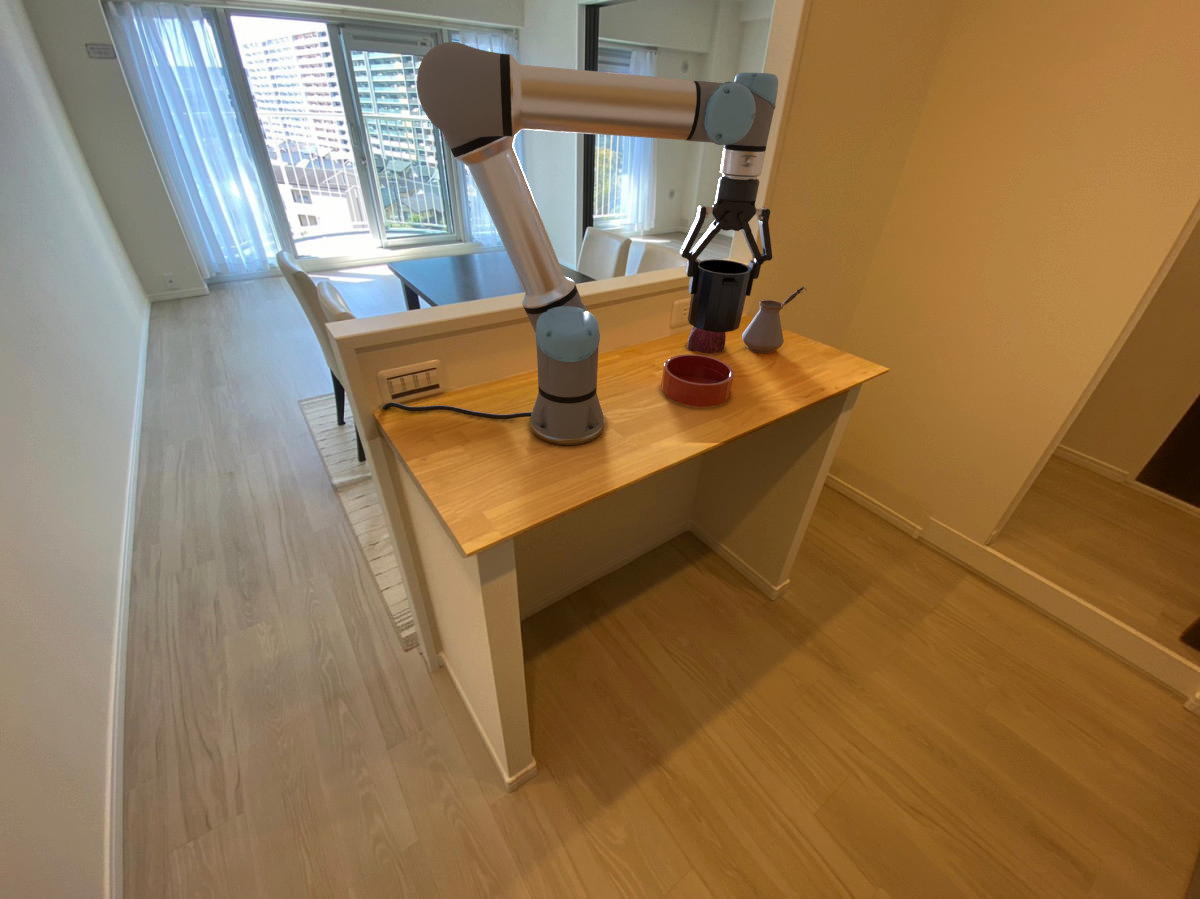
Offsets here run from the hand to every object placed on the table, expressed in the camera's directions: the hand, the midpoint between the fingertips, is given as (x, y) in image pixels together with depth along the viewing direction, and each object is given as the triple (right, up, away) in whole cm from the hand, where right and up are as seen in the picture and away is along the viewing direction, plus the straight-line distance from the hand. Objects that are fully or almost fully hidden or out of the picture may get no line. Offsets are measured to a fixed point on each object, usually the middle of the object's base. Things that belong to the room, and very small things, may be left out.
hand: (718, 293), depth 105 cm
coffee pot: (+24, -3, +39) cm, 46 cm away
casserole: (-3, -20, +13) cm, 23 cm away
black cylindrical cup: (0, -5, +4) cm, 6 cm away
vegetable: (+4, -5, +34) cm, 35 cm away
